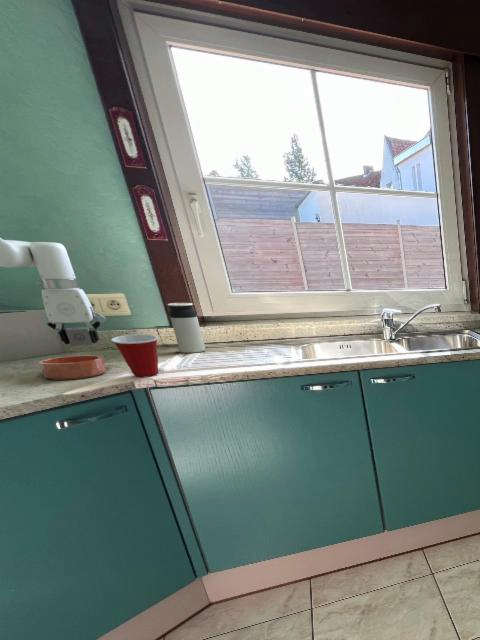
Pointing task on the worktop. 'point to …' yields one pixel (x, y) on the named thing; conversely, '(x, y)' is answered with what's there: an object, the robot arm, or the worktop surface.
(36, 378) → the worktop surface
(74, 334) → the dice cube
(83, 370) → the bowl
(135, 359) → the plastic cup
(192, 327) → the travel mug
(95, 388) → the worktop surface
